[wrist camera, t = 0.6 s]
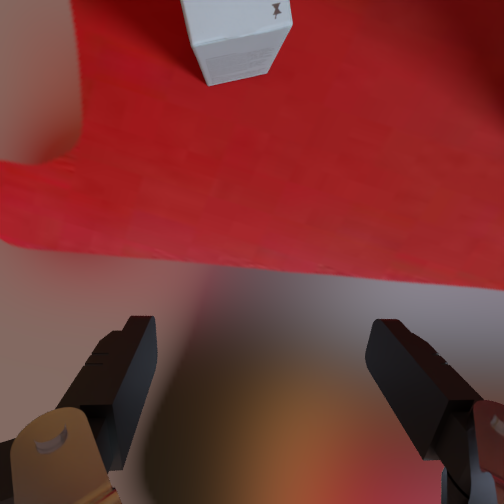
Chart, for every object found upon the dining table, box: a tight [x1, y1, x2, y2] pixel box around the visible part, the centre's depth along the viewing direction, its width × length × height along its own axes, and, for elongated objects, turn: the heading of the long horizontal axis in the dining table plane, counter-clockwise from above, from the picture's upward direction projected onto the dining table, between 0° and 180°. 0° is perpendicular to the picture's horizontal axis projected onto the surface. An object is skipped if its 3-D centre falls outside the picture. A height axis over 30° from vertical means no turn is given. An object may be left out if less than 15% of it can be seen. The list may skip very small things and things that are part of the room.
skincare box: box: [180, 0, 293, 86], centre depth 21 cm, size 6×4×12 cm
